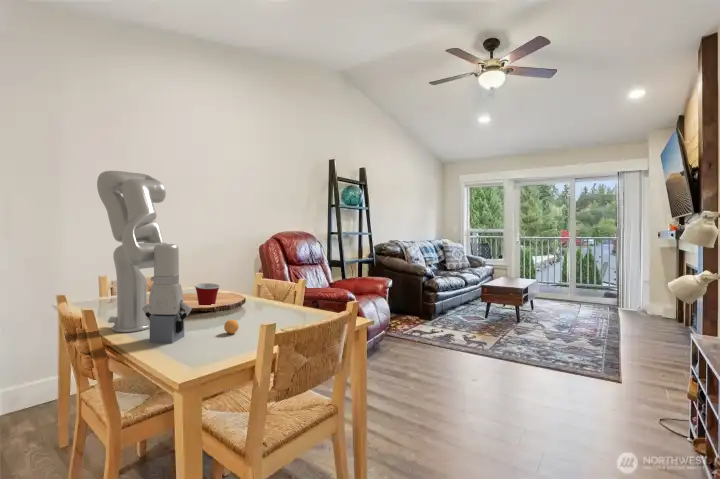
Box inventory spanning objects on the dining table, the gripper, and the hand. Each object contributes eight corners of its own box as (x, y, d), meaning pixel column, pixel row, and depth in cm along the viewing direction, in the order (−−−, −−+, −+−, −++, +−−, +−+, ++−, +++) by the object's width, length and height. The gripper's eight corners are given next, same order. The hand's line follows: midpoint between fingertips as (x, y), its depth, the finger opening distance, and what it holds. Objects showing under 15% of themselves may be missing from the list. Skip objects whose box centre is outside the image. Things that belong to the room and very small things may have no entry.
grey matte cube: (149, 342, 126) (149, 316, 126) (163, 335, 134) (163, 310, 134) (172, 343, 126) (172, 316, 126) (184, 336, 134) (184, 311, 133)
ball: (221, 335, 136) (221, 321, 135) (227, 331, 141) (227, 317, 140) (235, 335, 135) (235, 321, 135) (240, 331, 140) (240, 318, 140)
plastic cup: (211, 314, 166) (211, 287, 165) (189, 313, 168) (189, 286, 167) (225, 309, 176) (225, 283, 176) (204, 307, 179) (203, 282, 178)
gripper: (134, 281, 126) (135, 334, 126) (186, 282, 125) (186, 335, 125) (148, 278, 133) (149, 328, 134) (197, 279, 132) (197, 329, 133)
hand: (167, 331), depth 130 cm, fingers closed on grey matte cube, 7 cm apart
